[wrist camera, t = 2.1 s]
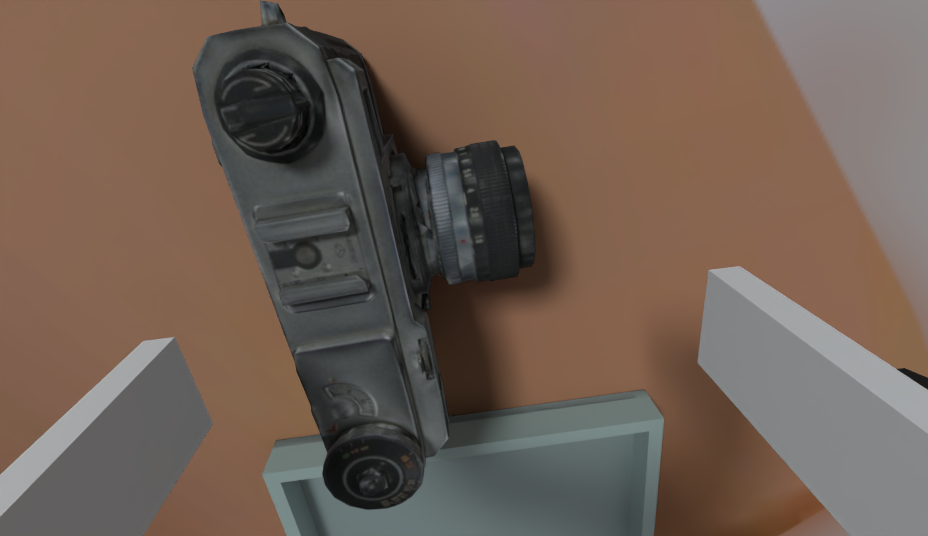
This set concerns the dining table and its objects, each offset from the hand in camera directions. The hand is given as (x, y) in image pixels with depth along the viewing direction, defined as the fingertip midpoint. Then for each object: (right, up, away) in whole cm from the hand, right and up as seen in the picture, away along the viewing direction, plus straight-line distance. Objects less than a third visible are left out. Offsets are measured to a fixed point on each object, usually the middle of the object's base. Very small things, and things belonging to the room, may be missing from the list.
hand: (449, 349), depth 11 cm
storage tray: (+1, -14, +19) cm, 24 cm away
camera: (-2, +5, +11) cm, 12 cm away
